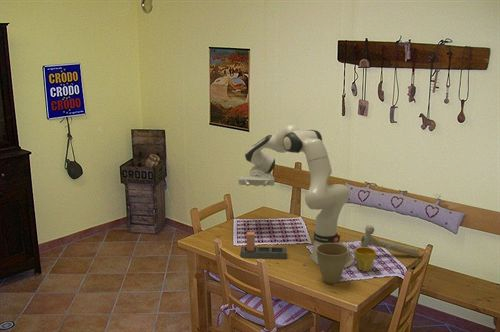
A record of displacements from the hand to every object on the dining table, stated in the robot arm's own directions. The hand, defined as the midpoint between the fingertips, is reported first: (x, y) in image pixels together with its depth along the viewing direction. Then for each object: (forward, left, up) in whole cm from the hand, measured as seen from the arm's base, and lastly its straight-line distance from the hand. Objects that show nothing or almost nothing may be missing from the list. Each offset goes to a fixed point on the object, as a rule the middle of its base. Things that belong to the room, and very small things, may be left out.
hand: (256, 184), depth 300 cm
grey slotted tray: (-15, +17, -32) cm, 39 cm away
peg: (-8, +20, -32) cm, 39 cm away
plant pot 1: (-56, +26, -32) cm, 69 cm away
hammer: (-72, -17, -32) cm, 80 cm away
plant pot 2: (-66, +6, -32) cm, 73 cm away
